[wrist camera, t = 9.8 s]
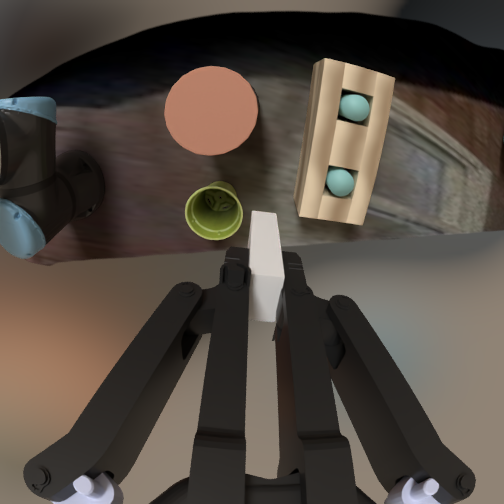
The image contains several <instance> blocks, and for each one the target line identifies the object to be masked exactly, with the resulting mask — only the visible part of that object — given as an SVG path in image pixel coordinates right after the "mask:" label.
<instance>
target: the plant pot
mask: <svg viewBox="0 0 504 504" xmlns="http://www.w3.org/2000/svg"><path fill="white" fill-rule="evenodd" d="M219 196H221V197H222V198H219ZM208 198H209V199H210V202H211V204H210V203H209V202H208ZM228 205H229V206H228ZM226 206H228V207H227V208H225V209H222V207H226ZM185 217H186V220H187V223H188V225H189V226H190V228H191V229H192V230H193V231H194V232H195V233H196V234H198V235H199V236H201V237H203V238H206V239H210V240H221V239H225V238H227V237H230V236H231V235H233V234H234V233H235V232H236V231H237V230H238V228H239V227H240V225H241V223H242V219H243V210H242V206H241V204H240V202H239V200H238V198H237V194H236V191H235V189H234V188H233V186H232V185H230V184H229V183H226V182H223V181H216V182H213V183H211V184H210V185H209V186H208V187H204V188H201V189H199V190H198V191H196V192H195V193H194V194H193V195H192V196H191V197H190V198H189V200H188V202H187V204H186V208H185Z"/></svg>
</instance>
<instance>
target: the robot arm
mask: <svg viewBox="0 0 504 504" xmlns="http://www.w3.org/2000/svg"><path fill="white" fill-rule="evenodd" d="M56 125H57V120H56V103H55V101H54V100H53V99H52V98H49V97H22V98H9V99H1V100H0V244H1V245H2V246H3V247H4V248H5V250H7V251H8V252H9V253H10V254H12V255H13V256H16V257H18V258H23V259H26V258H30V257H32V256H33V255H34V254H36V253H37V252H38V251H39V250H41V249H43V248H44V247H45V245H46V244H47V243H48V242H49V241H50V240H51V239H52V238H53V237H54V236H55V235H56V234H57V233H58V232H60V231H61V230H62V229H63V228H64V227H65V226H66V225H67V224H68V223H69V222H72V221H75V220H79V219H83V218H86V217H88V216H89V215H91V214H92V213H93V212H94V211H95V210H96V209H97V208H98V207H99V206H100V204H101V202H102V200H103V196H104V189H105V186H104V178H103V175H102V172H101V170H100V167H99V166H98V164H97V163H96V161H95V160H94V159H93V158H92V157H91V156H90V155H88V154H87V153H85V152H83V151H79V150H70V151H67V152H65V153H63V154H61V155H59V156H58V157H56V152H55V135H56ZM275 318H276V321H277V323H276V327H275V331H274V335H273V339H272V341H274V340H275V344H276V365H277V366H276V367H277V391H278V415H279V448H280V460H279V465H278V472H277V478H276V479H265V478H261V477H257V476H253V475H249V474H245V462H246V461H245V460H246V440H245V408H246V405H245V404H246V377H247V348H248V320H254V321H266V322H275ZM206 333H211V338H210V345H209V351H208V358H207V365H206V371H205V378H204V385H203V392H202V399H201V406H200V414H199V421H198V428H197V432H196V435H195V438H194V444H193V452H192V460H191V468H190V476H189V477H187V478H185V479H182V480H180V481H179V482H177V483H175V484H173V485H172V486H171V487H169V488H168V489H167V490H166V491H164V492H163V493H162V494H161V495H160V496H158V497H157V498H156V499H154V500H153V501H152V502H150V503H149V504H376V503H375V502H374V501H373V500H371V499H370V498H369V497H368V496H367V495H366V494H365V493H364V492H363V491H361V489H359V488H358V487H357V486H356V484H355V476H354V469H353V462H352V456H351V449H350V444H349V441H348V439H347V438H346V437H345V436H342V435H341V433H340V430H339V423H338V417H337V411H336V405H335V399H334V393H333V388H332V382H331V379H332V381H333V383H334V385H335V387H336V390H337V392H338V394H339V396H340V398H341V401H342V403H343V405H344V407H345V409H346V411H347V413H348V416H349V418H350V420H351V422H352V424H353V426H354V428H355V431H356V433H357V435H358V437H359V440H360V442H361V444H362V446H363V448H364V450H365V453H366V455H367V457H368V459H369V462H370V464H371V466H372V468H373V470H374V472H375V474H376V476H377V478H378V480H379V482H380V483H381V484H382V486H383V487H384V489H385V490H386V491H387V492H388V493H389V494H388V497H387V498H386V500H385V502H384V504H454V503H456V502H459V501H461V500H464V499H465V498H467V497H469V496H470V495H471V493H472V492H473V490H474V487H475V481H476V479H475V475H474V473H473V472H472V470H471V469H470V468H468V466H466V465H465V464H464V463H463V462H462V461H461V460H460V459H459V458H458V457H457V456H456V455H454V454H453V453H452V452H451V451H450V450H449V449H448V448H447V447H446V446H445V445H444V444H443V443H442V442H441V440H440V438H439V436H438V434H437V432H436V431H435V429H434V427H433V425H432V424H431V422H430V420H429V418H428V417H427V415H426V413H425V411H424V410H423V408H422V406H421V404H420V403H419V401H418V399H417V398H416V396H415V394H414V393H413V391H412V389H411V388H410V386H409V384H408V383H407V381H406V380H405V378H404V376H403V375H402V373H401V371H400V370H399V368H398V367H397V365H396V363H395V362H394V360H393V359H392V357H391V356H390V354H389V352H388V351H387V349H386V348H385V346H384V345H383V343H382V342H381V340H380V339H379V337H378V336H377V334H376V332H375V331H374V329H373V328H372V327H371V325H370V323H369V322H368V320H367V319H366V318H365V316H364V315H363V313H362V312H361V311H360V309H359V307H358V306H357V304H356V303H355V302H354V301H353V300H352V299H351V298H349V297H347V296H344V295H335V296H333V297H332V298H331V299H330V300H329V301H328V300H325V299H321V298H319V297H316V296H314V295H313V292H312V290H311V289H310V287H308V286H307V284H306V279H305V275H304V270H303V267H302V261H301V258H300V257H299V256H298V255H297V253H294V252H285V251H281V245H280V238H279V230H278V223H277V216H276V213H269V212H260V211H252V215H251V223H250V232H249V240H248V248H239V247H230V248H229V249H228V250H227V251H226V256H225V262H224V265H222V267H221V268H220V282H219V284H218V285H217V286H215V287H213V288H209V289H201V287H200V286H199V285H197V284H195V283H193V282H181V283H179V284H176V285H175V286H174V287H173V288H172V289H171V291H170V292H169V293H168V295H167V296H166V297H165V298H164V300H163V301H162V302H161V304H160V305H159V306H158V308H157V309H156V310H155V311H154V313H153V314H152V315H151V317H150V318H149V319H148V321H147V322H146V323H145V325H144V326H143V327H142V329H141V330H140V331H139V333H138V335H137V336H136V337H135V338H134V340H133V341H132V342H131V344H130V345H129V347H128V348H127V349H126V351H125V352H124V354H123V355H122V356H121V358H120V359H119V360H118V362H117V363H116V364H115V366H114V367H113V369H112V370H111V371H110V373H109V374H108V376H107V377H106V379H105V380H104V381H103V383H102V384H101V386H100V387H99V389H98V390H97V392H96V393H95V394H94V396H93V397H92V399H91V400H90V402H89V403H88V405H87V406H86V408H85V409H84V411H83V412H82V414H81V415H80V417H79V418H78V420H77V421H76V423H75V424H74V426H73V427H72V429H71V430H70V432H69V433H68V434H66V435H65V436H64V437H62V438H61V439H59V440H58V441H57V442H55V443H54V444H52V445H51V446H49V447H48V448H47V449H45V450H44V451H42V452H41V453H39V454H38V455H37V456H35V457H34V458H32V459H31V460H29V461H28V463H27V464H26V465H25V467H24V471H23V474H24V480H25V483H26V485H27V487H28V488H29V489H30V490H31V491H32V492H33V493H34V494H36V495H38V496H39V497H42V498H44V499H47V500H49V501H51V502H53V504H123V499H124V498H123V493H122V490H121V489H120V487H119V486H118V485H119V484H120V483H121V482H122V481H123V479H124V478H125V477H126V476H127V475H128V473H129V472H130V470H131V468H132V467H133V465H134V463H135V461H136V460H137V458H138V456H139V454H140V452H141V450H142V448H143V446H144V444H145V442H146V441H147V439H148V437H149V435H150V433H151V431H152V429H153V427H154V426H155V423H156V421H157V420H158V418H159V416H160V414H161V412H162V410H163V408H164V407H165V405H166V403H167V401H168V399H169V397H170V395H171V393H172V392H173V390H174V388H175V386H176V384H177V382H178V380H179V378H180V377H181V375H182V373H183V371H184V369H185V367H186V365H187V364H188V362H189V360H190V358H191V356H192V354H193V352H194V350H195V349H196V347H197V345H198V343H199V341H200V339H201V337H202V334H206Z"/></svg>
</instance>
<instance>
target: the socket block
mask: <svg viewBox="0 0 504 504" xmlns="http://www.w3.org/2000/svg"><path fill="white" fill-rule="evenodd" d="M394 81H395V78H393V77H391V76H388V75H385V74H382V73H379V72H375V71H372V70H369V69H366V68H362V67H359V66H355V65H351V64H348V63H344V62H340V61H336V60H331V59H327V58H324V59H322V60H321V61H319V62H317V63H315V64H314V66H313V73H312V81H311V88H310V95H309V102H308V109H307V116H306V122H305V129H304V135H303V142H302V148H301V154H300V160H299V166H298V172H297V178H296V184H295V190H294V196H293V197H294V200H295V204H296V207H297V211H298V214H299V216H300V217H308V218H315V219H323V220H330V221H337V222H344V223H351V224H357V225H363V222H364V218H365V215H366V211H367V208H368V204H369V201H370V197H371V193H372V189H373V185H374V182H375V178H376V174H377V169H378V165H379V161H380V157H381V152H382V148H383V143H384V138H385V133H386V128H387V123H388V118H389V112H390V106H391V101H392V94H393V88H394ZM341 92H344V93H348V94H352V95H360V96H362V97H364V98H365V99H366V100H367V102H368V104H369V108H370V110H369V114H368V116H367V117H366V118H365V119H364V120H362V121H354V120H351V121H348V120H343V119H339V118H337V116H338V110H339V104H340V97H341ZM329 165H332V166H338V167H343V168H344V169H345V170H346V171H347V172H348V173H349V174H350V175H351V176H352V177H353V180H354V187H353V190H352V191H351V192H350V193H349V194H348V195H346V196H337V195H335V194H333V193H332V192H331V190H330V189H329V187H328V186H327V184H326V183H325V181H326V176H327V171H328V166H329Z"/></svg>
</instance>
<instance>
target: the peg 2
mask: <svg viewBox="0 0 504 504" xmlns="http://www.w3.org/2000/svg"><path fill="white" fill-rule="evenodd" d="M369 110H370V108H369V104H368V102H367V100H366V99H365V98H364V97H362V96H360V95H349V94H341V97H340V104H339V110H338V116H341V117H344V118H347V119H350V120H354V121H362V120H364V119H365V118H366V117H367V116H368V114H369Z"/></svg>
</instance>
